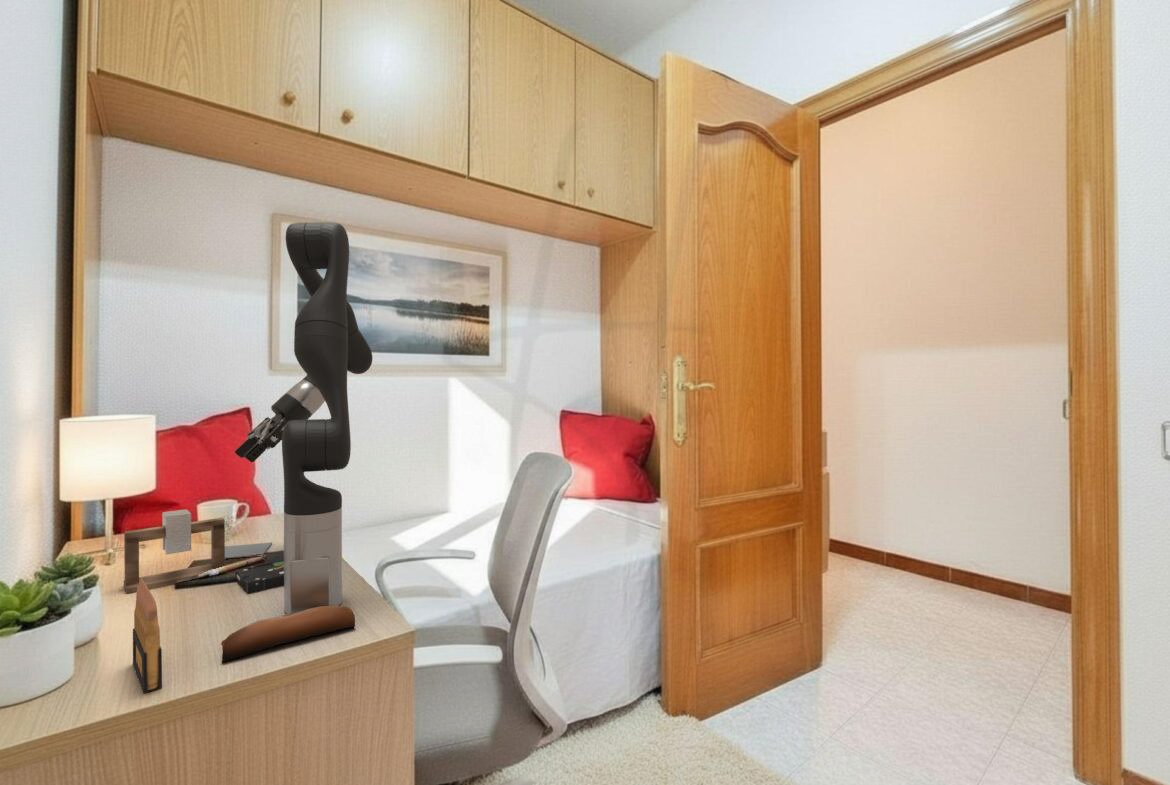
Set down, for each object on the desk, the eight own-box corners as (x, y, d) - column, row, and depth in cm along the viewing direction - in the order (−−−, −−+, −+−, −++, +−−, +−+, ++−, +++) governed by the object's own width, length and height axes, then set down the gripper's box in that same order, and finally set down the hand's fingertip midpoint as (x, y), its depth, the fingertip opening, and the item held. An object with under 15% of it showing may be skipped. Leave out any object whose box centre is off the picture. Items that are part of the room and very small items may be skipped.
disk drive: (247, 597, 100) (329, 577, 111) (247, 583, 100) (329, 563, 111) (234, 583, 108) (313, 565, 118) (234, 569, 108) (312, 552, 118)
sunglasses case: (342, 611, 93) (347, 584, 90) (352, 645, 88) (357, 617, 85) (216, 642, 82) (218, 612, 79) (220, 682, 77) (221, 652, 74)
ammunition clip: (162, 688, 69) (161, 596, 69) (143, 694, 68) (143, 600, 68) (149, 659, 77) (149, 575, 76) (132, 664, 75) (132, 579, 75)
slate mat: (262, 556, 123) (262, 554, 123) (211, 561, 120) (211, 558, 120) (272, 544, 132) (272, 542, 132) (225, 548, 129) (225, 546, 129)
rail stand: (220, 566, 116) (220, 516, 116) (226, 573, 112) (226, 520, 112) (123, 585, 105) (123, 529, 105) (126, 593, 101) (126, 535, 100)
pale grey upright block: (186, 545, 112) (186, 509, 111) (191, 550, 108) (191, 513, 108) (162, 549, 109) (162, 512, 109) (166, 554, 105) (166, 516, 105)
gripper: (277, 391, 127) (220, 443, 119) (297, 393, 117) (236, 449, 109) (301, 413, 131) (248, 464, 123) (322, 416, 121) (265, 472, 113)
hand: (242, 457), depth 116 cm, fingers open, 8 cm apart
